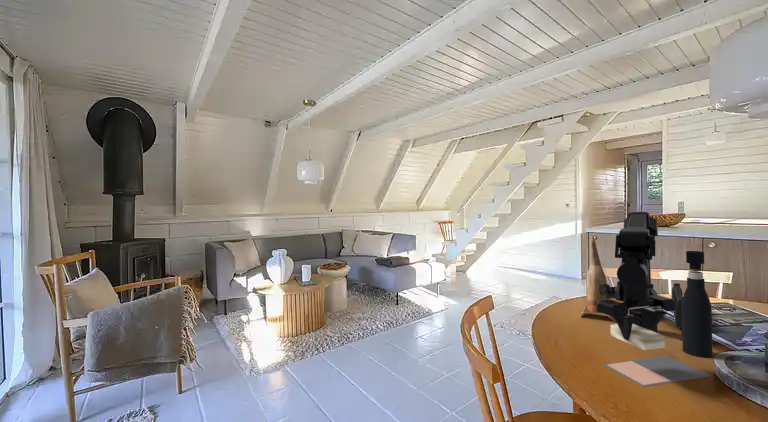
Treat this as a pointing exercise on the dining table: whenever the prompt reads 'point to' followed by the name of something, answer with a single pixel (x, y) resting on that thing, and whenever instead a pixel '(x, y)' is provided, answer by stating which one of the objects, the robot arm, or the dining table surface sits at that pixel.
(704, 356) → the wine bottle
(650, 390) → the dining table surface
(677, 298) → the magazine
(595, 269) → the brown tall tapered piece
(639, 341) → the block
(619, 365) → the mat
